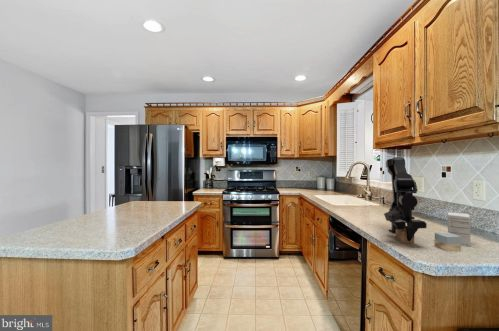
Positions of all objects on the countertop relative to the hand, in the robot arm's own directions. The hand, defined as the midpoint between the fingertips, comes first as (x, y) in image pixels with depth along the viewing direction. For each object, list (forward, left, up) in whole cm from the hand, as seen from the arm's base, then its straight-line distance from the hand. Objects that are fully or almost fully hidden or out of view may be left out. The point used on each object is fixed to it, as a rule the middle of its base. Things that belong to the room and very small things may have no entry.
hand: (404, 239), depth 108 cm
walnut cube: (0, 0, -1) cm, 1 cm away
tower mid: (+10, +11, +2) cm, 15 cm away
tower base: (+10, +11, -1) cm, 15 cm away
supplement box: (+4, +22, -1) cm, 22 cm away
